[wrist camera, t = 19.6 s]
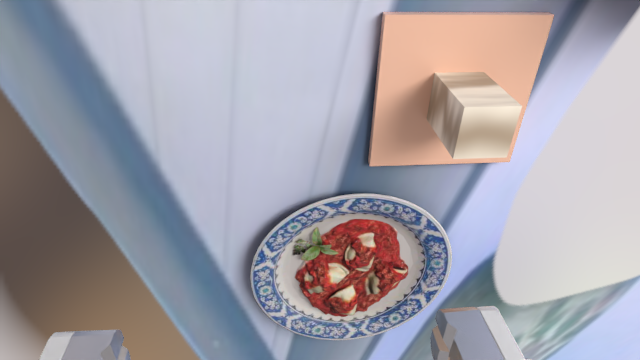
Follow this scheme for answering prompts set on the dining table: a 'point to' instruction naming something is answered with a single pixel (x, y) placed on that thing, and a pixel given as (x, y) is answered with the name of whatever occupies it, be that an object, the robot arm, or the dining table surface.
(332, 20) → the dining table surface
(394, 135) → the terracotta tile
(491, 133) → the ash block
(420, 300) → the ceramic plate
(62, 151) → the dining table surface
